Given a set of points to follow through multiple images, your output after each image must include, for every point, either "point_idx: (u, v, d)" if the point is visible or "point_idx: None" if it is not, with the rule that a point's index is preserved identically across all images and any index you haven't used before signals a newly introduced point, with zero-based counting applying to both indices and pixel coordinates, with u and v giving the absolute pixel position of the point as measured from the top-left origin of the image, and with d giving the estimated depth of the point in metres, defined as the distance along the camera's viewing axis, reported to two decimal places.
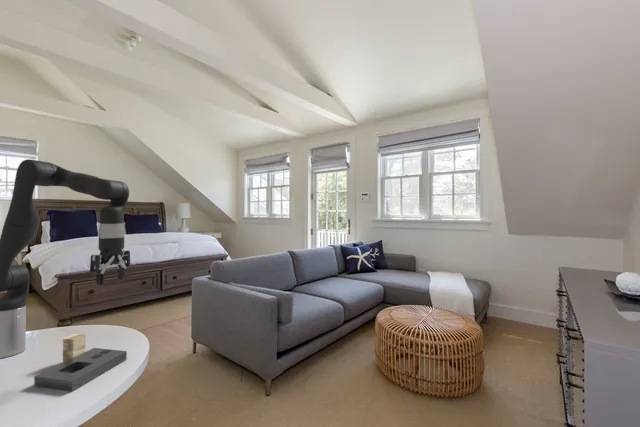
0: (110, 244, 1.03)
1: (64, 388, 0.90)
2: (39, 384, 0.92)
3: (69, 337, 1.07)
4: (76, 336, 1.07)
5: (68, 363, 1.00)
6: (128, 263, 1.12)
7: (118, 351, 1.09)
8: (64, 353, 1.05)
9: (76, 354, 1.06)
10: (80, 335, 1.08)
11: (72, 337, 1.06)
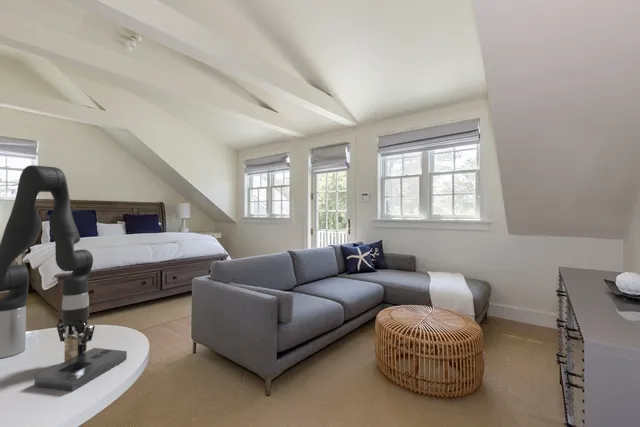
0: (88, 311, 1.09)
1: (64, 388, 0.90)
2: (39, 384, 0.92)
3: (71, 337, 1.06)
4: None
5: (68, 363, 1.00)
6: None
7: (118, 351, 1.09)
8: (66, 353, 1.05)
9: None
10: None
11: (73, 337, 1.06)
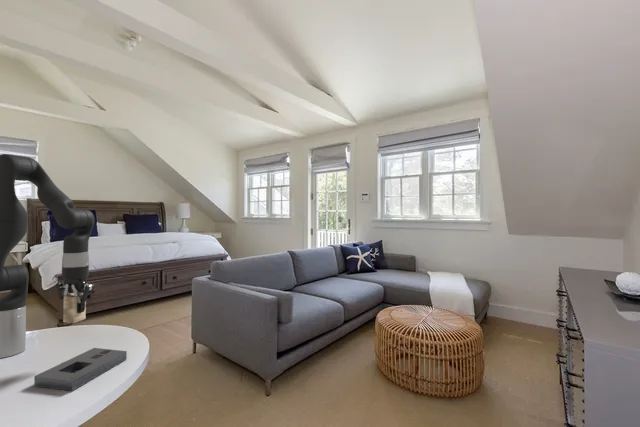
0: (88, 270, 1.09)
1: (64, 388, 0.90)
2: (39, 384, 0.92)
3: (70, 295, 1.07)
4: None
5: (68, 363, 1.00)
6: None
7: (118, 351, 1.09)
8: (65, 311, 1.06)
9: None
10: None
11: (72, 296, 1.07)
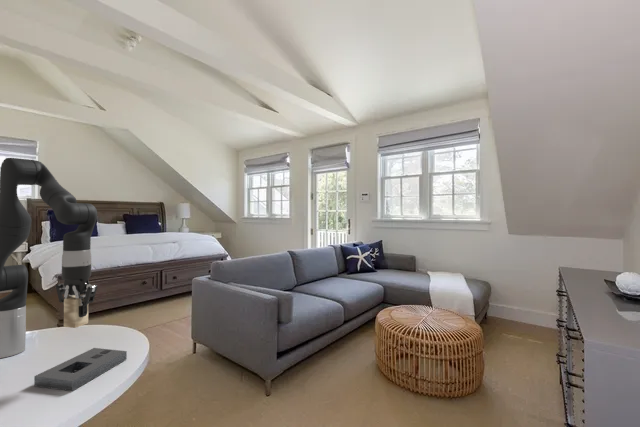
0: (90, 270, 1.00)
1: (64, 388, 0.90)
2: (39, 384, 0.92)
3: (71, 298, 0.97)
4: None
5: (68, 363, 1.00)
6: None
7: (118, 351, 1.09)
8: (65, 315, 0.96)
9: (78, 316, 0.96)
10: None
11: (74, 298, 0.97)
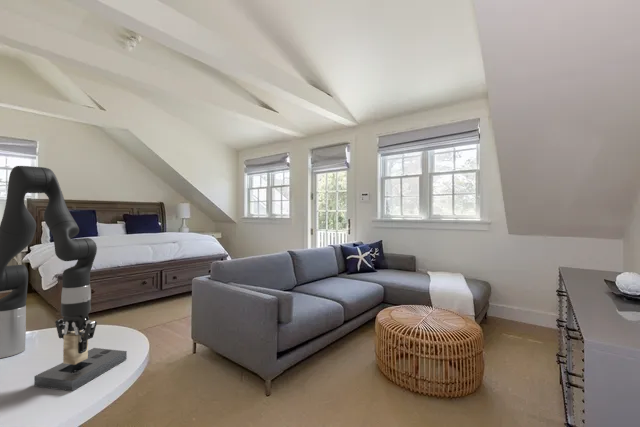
0: (90, 305, 1.00)
1: (64, 388, 0.90)
2: (39, 384, 0.92)
3: (70, 334, 0.97)
4: None
5: None
6: None
7: (118, 351, 1.09)
8: (65, 351, 0.96)
9: None
10: None
11: (73, 334, 0.97)
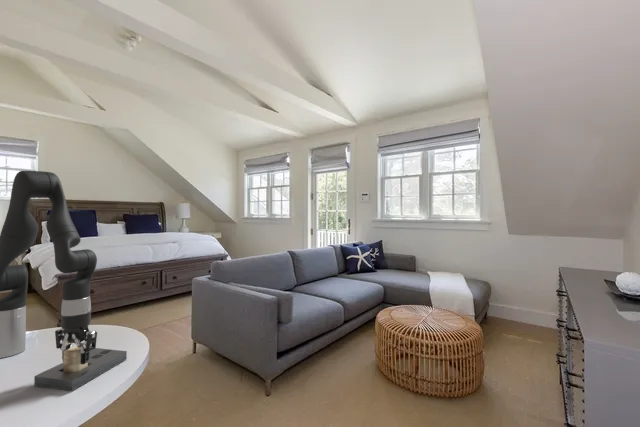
0: (90, 317, 1.00)
1: (64, 388, 0.90)
2: (39, 384, 0.92)
3: (70, 349, 0.97)
4: (77, 348, 0.98)
5: None
6: None
7: (118, 351, 1.09)
8: (65, 367, 0.96)
9: (78, 368, 0.96)
10: None
11: (73, 350, 0.97)
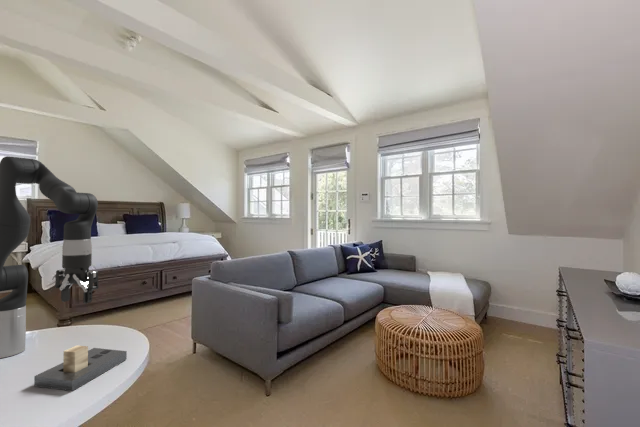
0: (91, 259, 1.00)
1: (64, 388, 0.90)
2: (39, 384, 0.92)
3: (70, 349, 0.97)
4: (77, 348, 0.98)
5: None
6: None
7: (118, 351, 1.09)
8: (65, 367, 0.96)
9: (78, 368, 0.96)
10: (82, 347, 0.99)
11: (73, 350, 0.97)
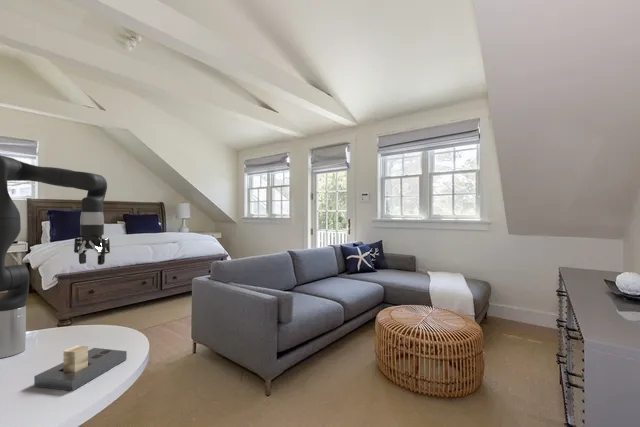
0: (103, 229, 1.21)
1: (64, 388, 0.90)
2: (39, 384, 0.92)
3: (70, 349, 0.97)
4: (77, 348, 0.98)
5: None
6: None
7: (118, 351, 1.09)
8: (65, 367, 0.96)
9: (78, 368, 0.96)
10: (82, 347, 0.99)
11: (73, 350, 0.97)
